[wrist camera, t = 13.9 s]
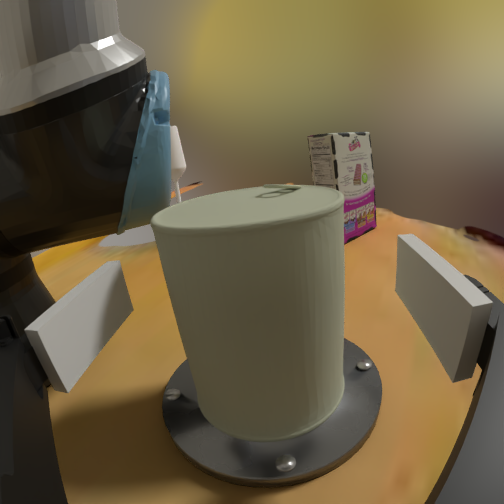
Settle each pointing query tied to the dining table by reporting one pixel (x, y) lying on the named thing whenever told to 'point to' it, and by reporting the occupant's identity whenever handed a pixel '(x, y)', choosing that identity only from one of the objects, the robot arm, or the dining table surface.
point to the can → (259, 305)
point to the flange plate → (280, 452)
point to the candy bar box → (347, 176)
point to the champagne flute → (176, 160)
